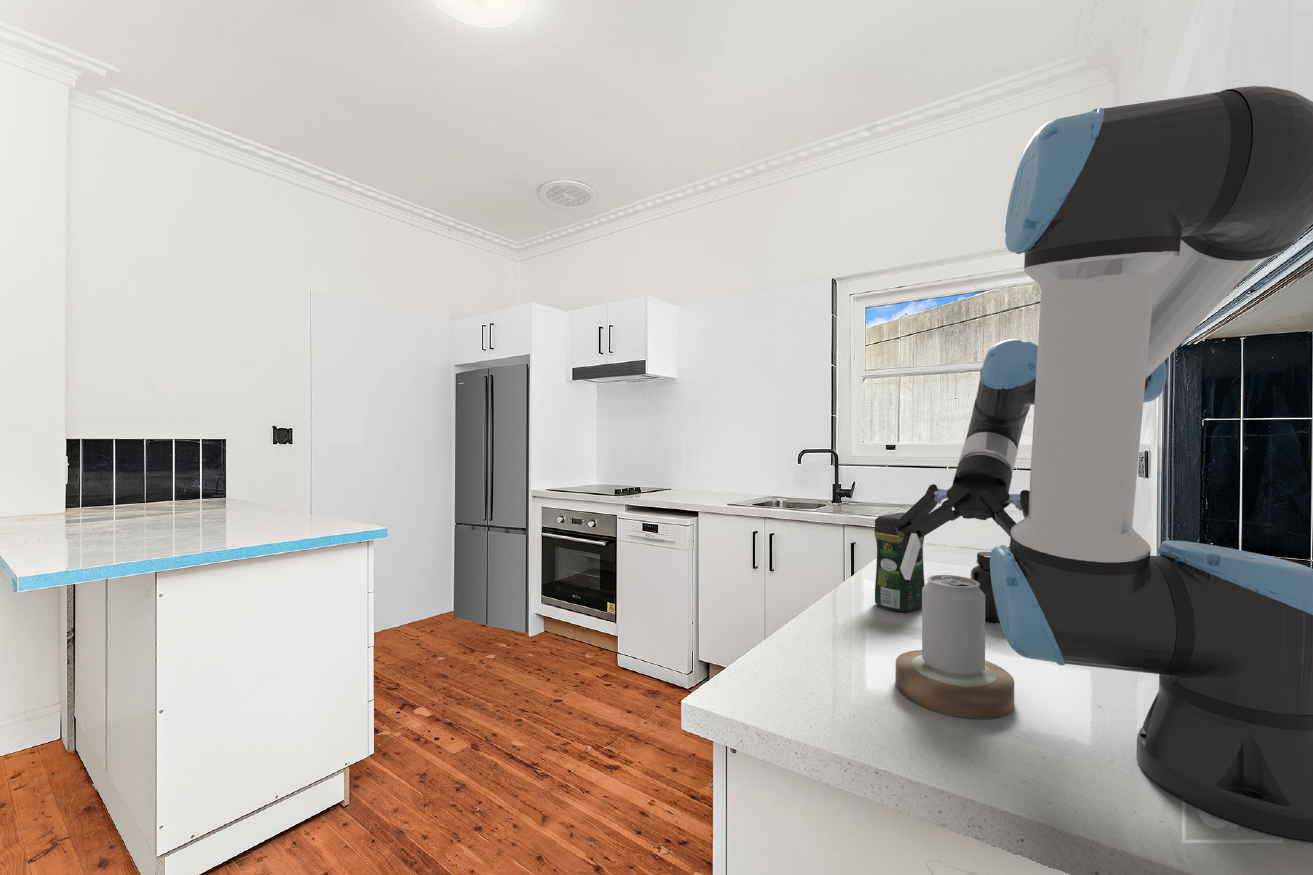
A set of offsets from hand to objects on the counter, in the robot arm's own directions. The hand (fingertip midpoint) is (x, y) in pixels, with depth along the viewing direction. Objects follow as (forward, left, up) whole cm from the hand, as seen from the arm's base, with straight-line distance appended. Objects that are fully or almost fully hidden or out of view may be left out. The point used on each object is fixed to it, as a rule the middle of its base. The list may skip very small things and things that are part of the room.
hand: (955, 583), depth 78 cm
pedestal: (-2, +2, -14) cm, 14 cm away
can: (-2, +2, -11) cm, 11 cm away
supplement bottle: (+25, -24, -14) cm, 37 cm away
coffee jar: (+34, -11, -14) cm, 38 cm away
